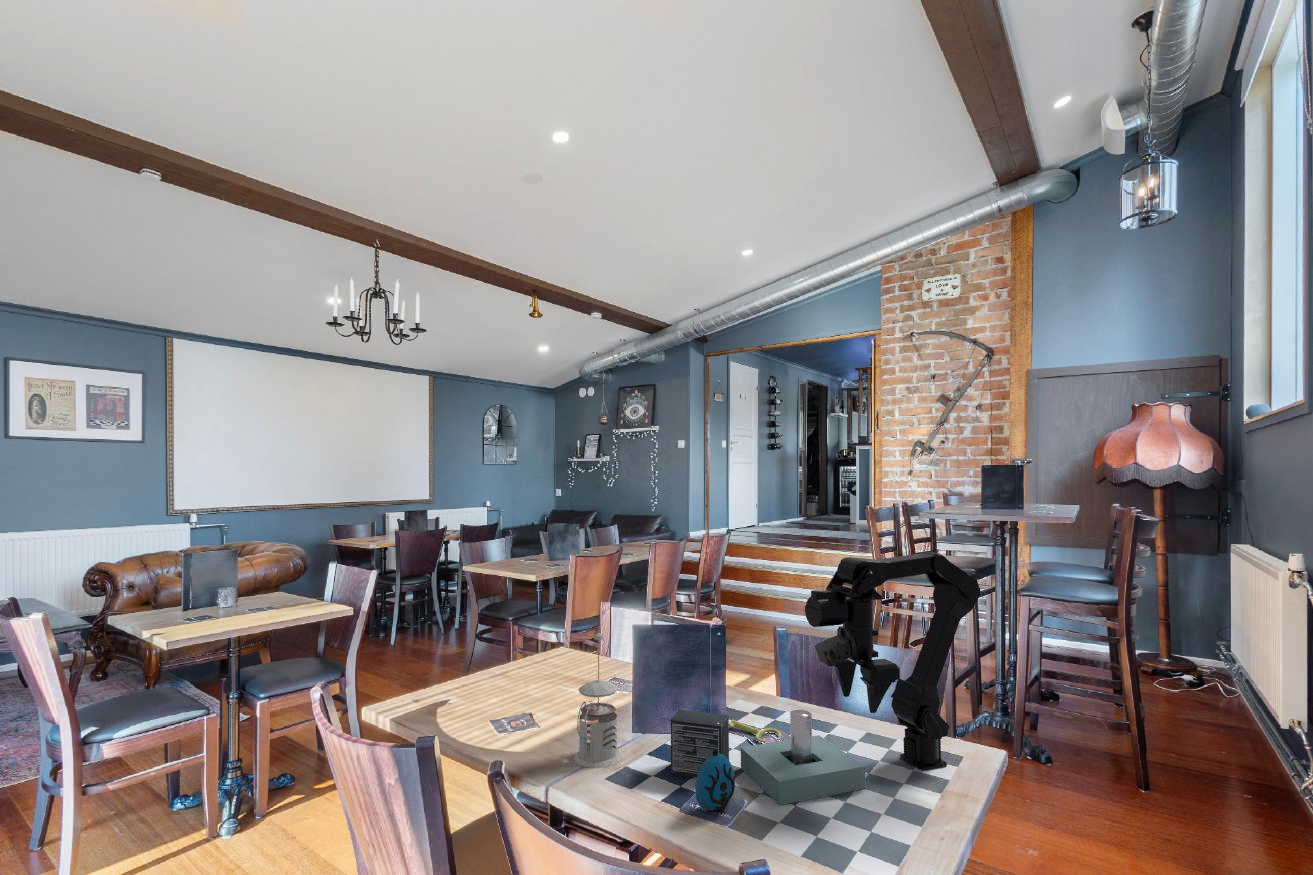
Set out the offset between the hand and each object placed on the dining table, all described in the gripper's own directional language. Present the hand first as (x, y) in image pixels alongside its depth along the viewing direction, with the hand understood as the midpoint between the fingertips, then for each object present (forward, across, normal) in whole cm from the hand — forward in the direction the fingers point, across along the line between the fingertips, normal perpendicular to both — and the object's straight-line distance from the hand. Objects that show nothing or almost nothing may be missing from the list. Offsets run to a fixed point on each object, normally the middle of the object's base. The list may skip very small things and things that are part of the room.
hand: (859, 704), depth 125 cm
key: (+14, -22, -12) cm, 29 cm away
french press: (+13, -20, -48) cm, 54 cm away
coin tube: (+13, -1, -12) cm, 18 cm away
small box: (+13, -9, -30) cm, 34 cm away
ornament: (+13, +5, -32) cm, 35 cm away
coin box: (+13, -1, -12) cm, 18 cm away
